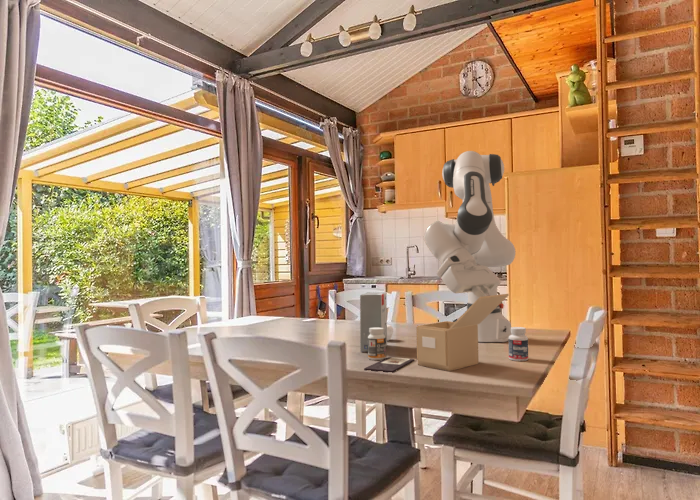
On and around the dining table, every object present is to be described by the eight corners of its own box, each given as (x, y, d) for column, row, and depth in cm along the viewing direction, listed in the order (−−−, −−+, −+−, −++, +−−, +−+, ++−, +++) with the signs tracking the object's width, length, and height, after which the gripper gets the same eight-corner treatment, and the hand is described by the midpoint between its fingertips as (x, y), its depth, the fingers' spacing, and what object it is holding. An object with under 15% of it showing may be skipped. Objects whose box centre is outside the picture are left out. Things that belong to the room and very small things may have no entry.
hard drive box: (381, 352, 182) (380, 294, 182) (359, 352, 183) (358, 295, 183) (387, 345, 197) (386, 291, 197) (367, 344, 198) (366, 291, 198)
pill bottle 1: (380, 361, 168) (380, 329, 168) (365, 359, 170) (364, 328, 171) (388, 358, 172) (388, 327, 172) (373, 356, 175) (372, 326, 175)
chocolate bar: (364, 368, 155) (388, 357, 171) (364, 371, 155) (388, 360, 171) (392, 371, 151) (414, 359, 167) (392, 374, 151) (414, 362, 167)
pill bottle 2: (512, 361, 163) (511, 329, 163) (506, 357, 169) (505, 326, 169) (531, 361, 163) (530, 329, 163) (524, 357, 169) (524, 326, 169)
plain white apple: (373, 341, 205) (373, 321, 205) (378, 338, 212) (377, 318, 212) (391, 342, 203) (391, 321, 203) (395, 339, 210) (394, 319, 210)
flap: (478, 322, 160) (508, 293, 152) (479, 323, 160) (509, 295, 152) (449, 327, 151) (479, 296, 144) (450, 328, 151) (480, 298, 143)
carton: (447, 357, 170) (446, 320, 171) (479, 363, 161) (478, 324, 161) (415, 365, 161) (414, 325, 161) (447, 371, 151) (447, 329, 151)
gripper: (475, 271, 165) (503, 304, 157) (432, 273, 152) (460, 310, 144) (487, 257, 162) (516, 290, 154) (444, 258, 148) (473, 294, 141)
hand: (488, 300), depth 149 cm, fingers closed, pressing on flap
